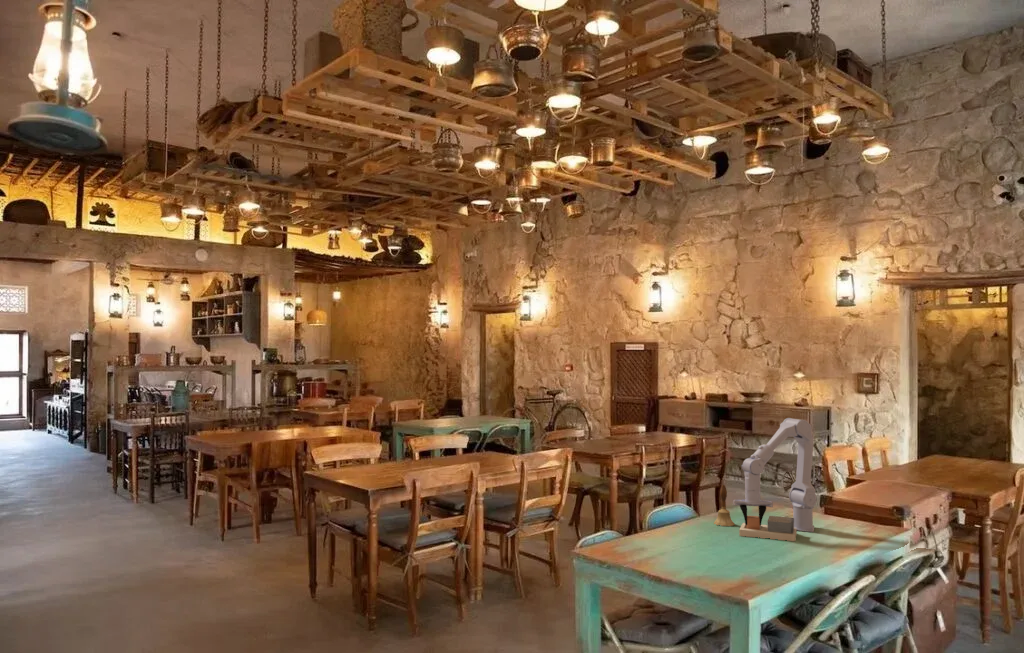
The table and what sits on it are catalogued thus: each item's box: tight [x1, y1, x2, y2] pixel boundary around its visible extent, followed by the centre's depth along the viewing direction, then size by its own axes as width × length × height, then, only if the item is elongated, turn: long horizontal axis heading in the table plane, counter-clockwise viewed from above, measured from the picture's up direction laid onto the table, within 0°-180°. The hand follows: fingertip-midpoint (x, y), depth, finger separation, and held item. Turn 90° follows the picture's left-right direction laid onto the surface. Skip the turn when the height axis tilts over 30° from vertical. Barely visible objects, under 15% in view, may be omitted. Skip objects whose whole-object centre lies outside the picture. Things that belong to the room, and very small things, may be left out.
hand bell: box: [713, 484, 736, 527], centre depth 298 cm, size 8×8×16 cm
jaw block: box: [747, 515, 760, 530], centre depth 283 cm, size 4×4×5 cm
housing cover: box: [767, 515, 794, 533], centre depth 279 cm, size 9×9×4 cm
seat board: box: [738, 522, 798, 542], centre depth 281 cm, size 12×20×2 cm, turn 66°
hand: (753, 524), depth 283 cm, fingers closed on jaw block, 4 cm apart
